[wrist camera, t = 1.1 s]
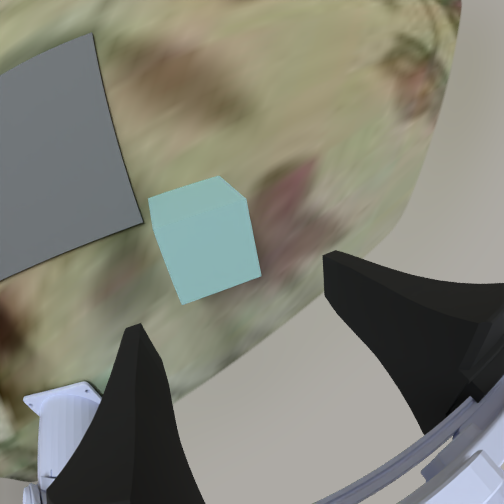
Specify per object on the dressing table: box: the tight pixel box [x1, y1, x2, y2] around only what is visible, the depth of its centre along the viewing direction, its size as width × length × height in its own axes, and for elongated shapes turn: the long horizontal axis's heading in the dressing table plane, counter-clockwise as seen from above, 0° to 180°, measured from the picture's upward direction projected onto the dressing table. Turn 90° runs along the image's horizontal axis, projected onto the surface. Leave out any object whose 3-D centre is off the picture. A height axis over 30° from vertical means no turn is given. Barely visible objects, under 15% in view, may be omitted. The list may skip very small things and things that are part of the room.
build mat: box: [0, 33, 143, 280], centre depth 13 cm, size 12×12×1 cm
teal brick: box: [148, 176, 261, 305], centre depth 17 cm, size 4×4×5 cm
